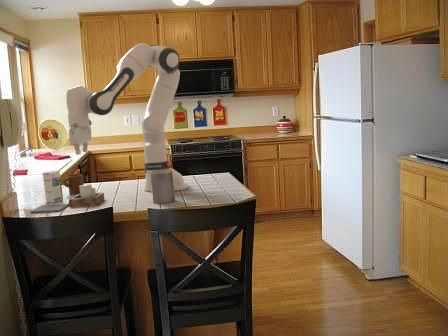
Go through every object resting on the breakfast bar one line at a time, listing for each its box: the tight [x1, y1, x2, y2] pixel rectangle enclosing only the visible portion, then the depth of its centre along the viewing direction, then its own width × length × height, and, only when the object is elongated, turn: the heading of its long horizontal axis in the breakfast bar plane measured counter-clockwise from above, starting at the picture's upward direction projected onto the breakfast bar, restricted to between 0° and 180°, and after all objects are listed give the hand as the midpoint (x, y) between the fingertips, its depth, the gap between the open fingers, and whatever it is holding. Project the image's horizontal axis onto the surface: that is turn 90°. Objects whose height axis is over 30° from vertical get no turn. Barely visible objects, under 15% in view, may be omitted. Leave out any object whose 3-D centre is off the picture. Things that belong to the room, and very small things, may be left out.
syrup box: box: [42, 170, 64, 203], centre depth 239 cm, size 6×6×14 cm
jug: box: [80, 183, 97, 198], centre depth 228 cm, size 7×5×8 cm
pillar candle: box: [151, 169, 176, 205], centre depth 220 cm, size 10×10×15 cm
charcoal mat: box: [29, 203, 70, 214], centre depth 221 cm, size 13×12×1 cm
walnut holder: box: [68, 192, 105, 208], centre depth 228 cm, size 12×12×4 cm
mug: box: [62, 173, 85, 195], centre depth 255 cm, size 12×8×9 cm, turn 153°
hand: (82, 153), depth 225 cm, fingers open, 8 cm apart
